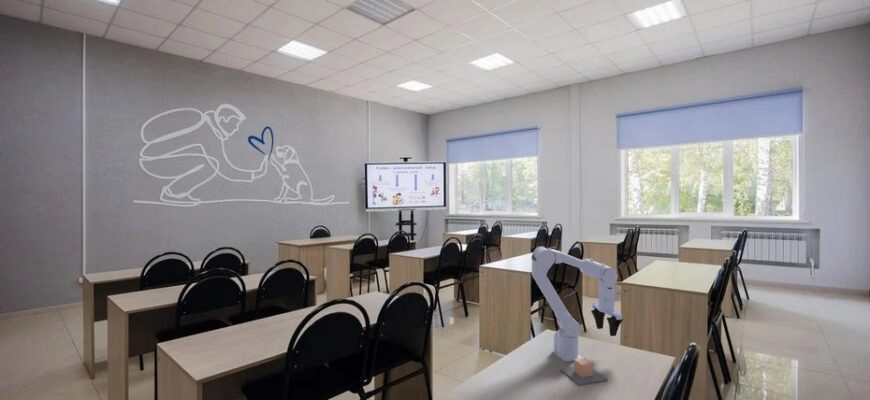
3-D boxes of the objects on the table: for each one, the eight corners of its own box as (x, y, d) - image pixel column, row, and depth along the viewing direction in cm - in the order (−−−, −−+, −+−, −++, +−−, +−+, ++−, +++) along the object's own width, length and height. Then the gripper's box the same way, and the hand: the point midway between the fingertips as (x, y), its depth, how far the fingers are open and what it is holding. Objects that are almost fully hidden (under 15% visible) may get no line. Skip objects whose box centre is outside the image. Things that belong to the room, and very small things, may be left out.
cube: (574, 371, 141) (574, 359, 141) (584, 369, 142) (585, 357, 142) (581, 377, 137) (581, 364, 137) (592, 375, 138) (592, 363, 138)
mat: (560, 370, 144) (560, 368, 144) (587, 366, 146) (587, 364, 146) (579, 385, 133) (579, 383, 133) (607, 380, 136) (607, 378, 136)
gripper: (629, 301, 148) (628, 337, 149) (603, 291, 162) (602, 324, 163) (612, 303, 146) (612, 339, 147) (587, 292, 160) (587, 326, 161)
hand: (606, 332), depth 154 cm, fingers open, 7 cm apart
